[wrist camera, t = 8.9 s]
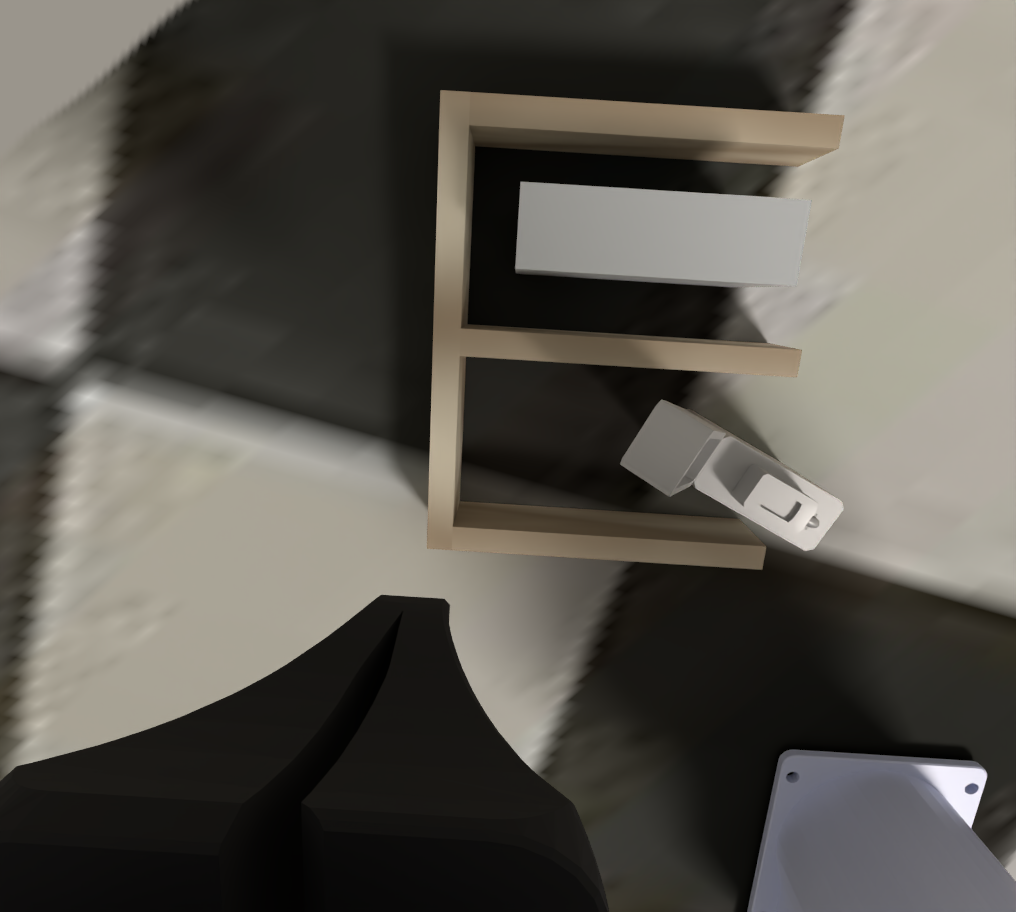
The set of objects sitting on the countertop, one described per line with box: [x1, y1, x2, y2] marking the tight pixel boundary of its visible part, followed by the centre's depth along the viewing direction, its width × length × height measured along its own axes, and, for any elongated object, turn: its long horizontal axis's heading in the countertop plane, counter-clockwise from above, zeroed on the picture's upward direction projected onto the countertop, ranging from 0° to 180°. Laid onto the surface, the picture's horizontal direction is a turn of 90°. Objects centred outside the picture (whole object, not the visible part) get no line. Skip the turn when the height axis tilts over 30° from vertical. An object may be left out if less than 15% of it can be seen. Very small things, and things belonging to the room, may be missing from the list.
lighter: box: [620, 399, 844, 551], centre depth 17 cm, size 7×2×8 cm, turn 60°
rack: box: [427, 90, 844, 570], centre depth 19 cm, size 13×11×2 cm
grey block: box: [515, 182, 812, 287], centre depth 17 cm, size 2×7×5 cm, turn 87°
